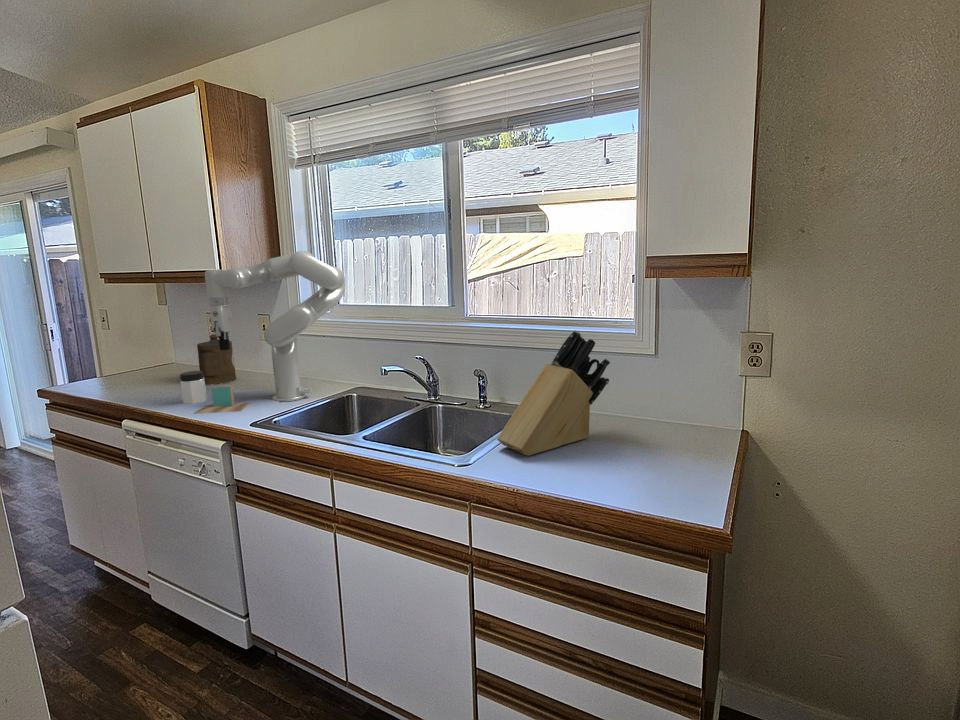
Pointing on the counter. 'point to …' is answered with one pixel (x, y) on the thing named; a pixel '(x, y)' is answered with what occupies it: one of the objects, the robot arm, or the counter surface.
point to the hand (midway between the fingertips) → (225, 349)
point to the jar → (193, 387)
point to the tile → (222, 395)
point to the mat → (222, 408)
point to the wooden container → (216, 362)
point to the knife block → (557, 401)
